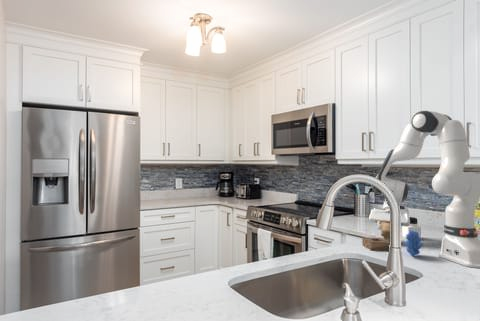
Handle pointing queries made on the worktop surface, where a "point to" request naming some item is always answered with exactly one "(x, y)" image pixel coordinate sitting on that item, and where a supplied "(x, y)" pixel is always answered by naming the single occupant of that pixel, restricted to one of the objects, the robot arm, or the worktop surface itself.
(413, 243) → the grapes
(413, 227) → the medicine bottle
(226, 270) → the worktop surface
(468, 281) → the worktop surface
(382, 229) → the tan tall piece
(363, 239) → the brown wooden tray
